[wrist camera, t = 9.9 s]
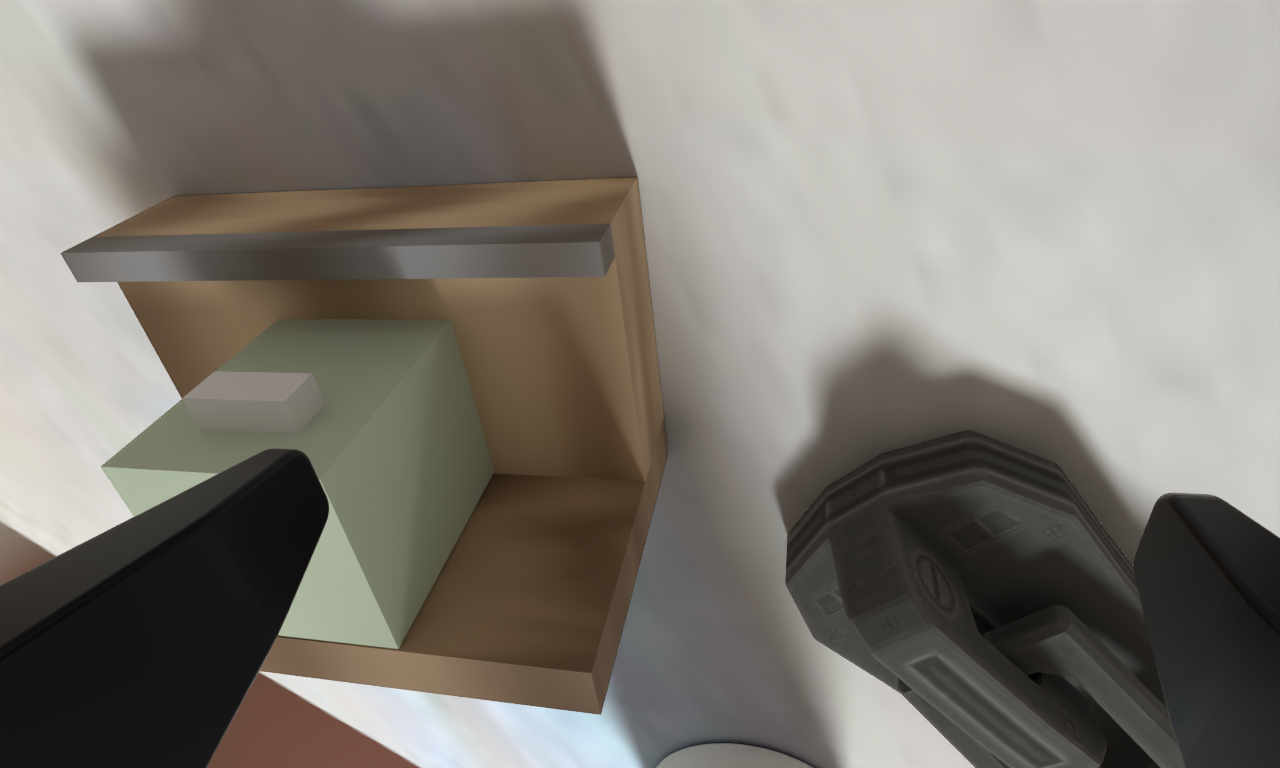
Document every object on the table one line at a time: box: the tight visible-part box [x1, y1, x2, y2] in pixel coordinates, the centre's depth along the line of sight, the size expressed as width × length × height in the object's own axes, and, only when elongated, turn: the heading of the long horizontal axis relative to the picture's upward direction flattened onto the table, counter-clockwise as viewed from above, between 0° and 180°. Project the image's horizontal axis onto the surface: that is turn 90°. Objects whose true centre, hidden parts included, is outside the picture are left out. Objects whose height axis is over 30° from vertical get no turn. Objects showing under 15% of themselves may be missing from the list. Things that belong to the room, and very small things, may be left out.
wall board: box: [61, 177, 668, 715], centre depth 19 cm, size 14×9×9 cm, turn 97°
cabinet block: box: [101, 319, 494, 649], centre depth 18 cm, size 5×6×6 cm
